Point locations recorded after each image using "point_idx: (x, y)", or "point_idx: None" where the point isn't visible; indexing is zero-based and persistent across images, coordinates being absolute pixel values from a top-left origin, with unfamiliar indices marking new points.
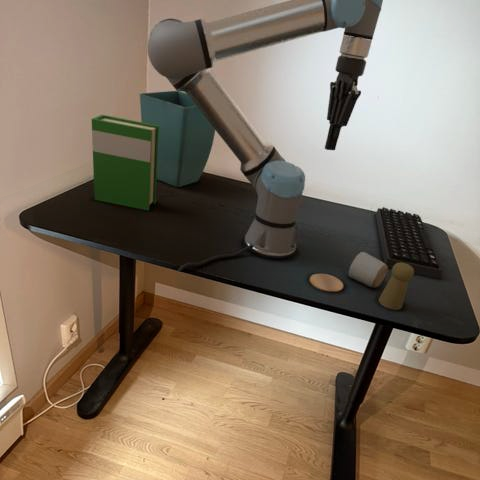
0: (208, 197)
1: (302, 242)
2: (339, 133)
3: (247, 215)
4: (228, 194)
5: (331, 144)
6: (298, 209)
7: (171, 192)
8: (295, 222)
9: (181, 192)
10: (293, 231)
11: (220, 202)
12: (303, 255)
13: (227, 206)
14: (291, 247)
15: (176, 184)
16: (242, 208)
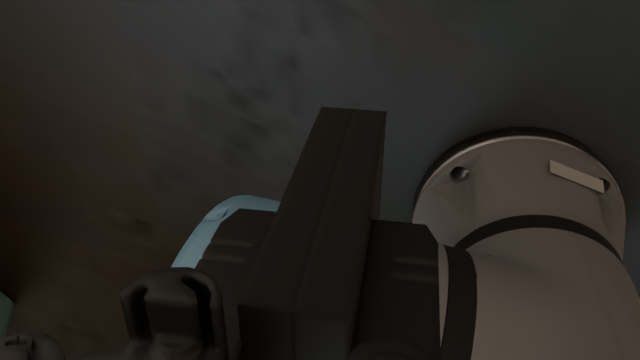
0: (71, 241)
1: (495, 57)
2: (436, 285)
3: (219, 171)
4: (13, 159)
5: (377, 210)
6: (625, 285)
7: (64, 330)
8: (601, 239)
9: (53, 304)
10: (603, 223)
11: (109, 219)
12: (612, 115)
13: (143, 209)
14: (609, 195)
15: (11, 315)
16: (151, 162)
